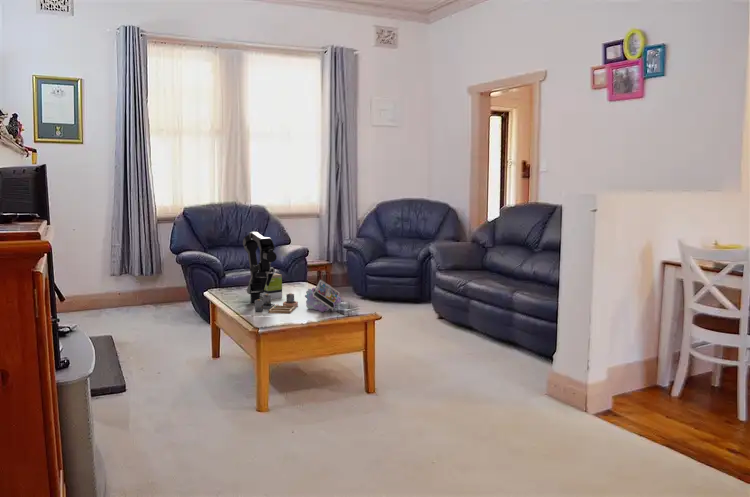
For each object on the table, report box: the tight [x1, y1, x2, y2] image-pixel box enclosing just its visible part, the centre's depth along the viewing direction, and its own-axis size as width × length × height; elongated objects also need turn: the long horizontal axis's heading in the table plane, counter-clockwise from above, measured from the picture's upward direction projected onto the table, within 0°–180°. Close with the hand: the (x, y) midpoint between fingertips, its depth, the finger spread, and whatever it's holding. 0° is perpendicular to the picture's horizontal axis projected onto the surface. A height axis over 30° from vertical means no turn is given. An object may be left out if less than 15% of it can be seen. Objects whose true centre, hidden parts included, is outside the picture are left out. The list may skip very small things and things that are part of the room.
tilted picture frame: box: [304, 279, 342, 313], centre depth 361 cm, size 20×22×18 cm
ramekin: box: [282, 300, 299, 308], centre depth 367 cm, size 8×8×3 cm
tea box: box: [260, 272, 283, 300], centre depth 399 cm, size 15×10×15 cm, turn 37°
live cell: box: [262, 294, 272, 306], centre depth 363 cm, size 4×4×8 cm
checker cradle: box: [263, 303, 282, 311], centre depth 363 cm, size 12×10×2 cm
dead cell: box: [285, 292, 295, 303], centre depth 367 cm, size 4×4×8 cm
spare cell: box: [254, 298, 264, 313], centre depth 352 cm, size 4×4×8 cm
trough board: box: [268, 304, 296, 314], centre depth 356 cm, size 14×12×2 cm
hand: (265, 287), depth 362 cm, fingers open, 9 cm apart
